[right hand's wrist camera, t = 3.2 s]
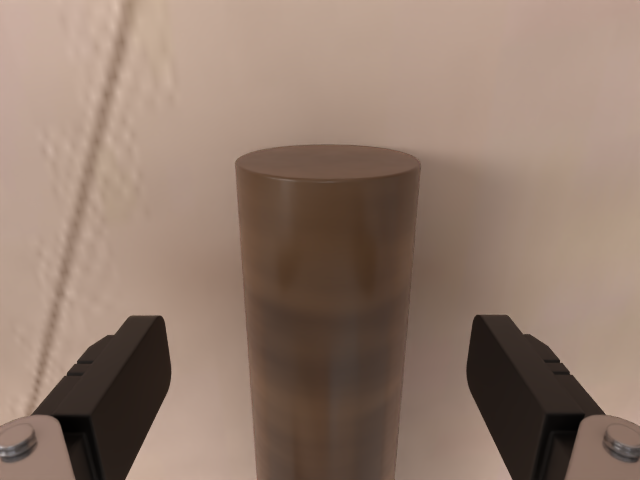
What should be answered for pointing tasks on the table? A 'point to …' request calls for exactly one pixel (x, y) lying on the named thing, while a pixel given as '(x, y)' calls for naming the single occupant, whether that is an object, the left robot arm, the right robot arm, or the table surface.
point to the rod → (326, 305)
